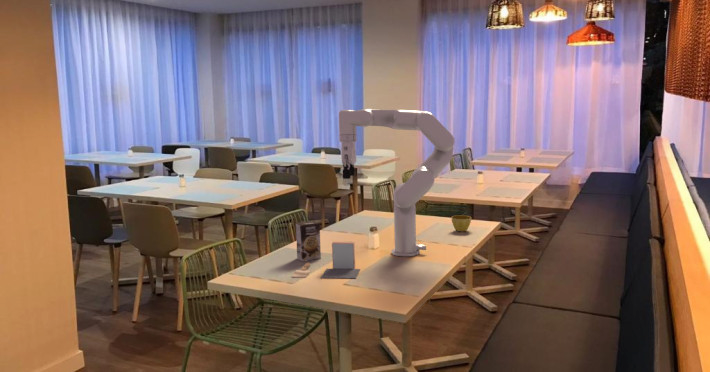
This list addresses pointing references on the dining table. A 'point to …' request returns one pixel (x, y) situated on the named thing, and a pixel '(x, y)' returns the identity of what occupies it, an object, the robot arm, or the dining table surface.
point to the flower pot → (461, 222)
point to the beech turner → (302, 272)
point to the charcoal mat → (341, 273)
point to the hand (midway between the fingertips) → (348, 177)
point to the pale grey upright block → (343, 255)
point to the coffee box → (308, 240)
